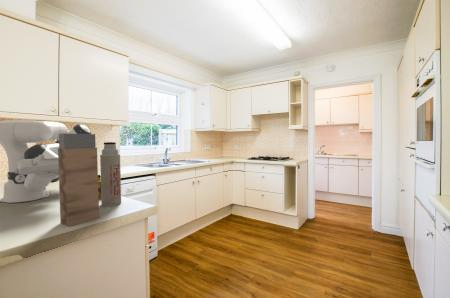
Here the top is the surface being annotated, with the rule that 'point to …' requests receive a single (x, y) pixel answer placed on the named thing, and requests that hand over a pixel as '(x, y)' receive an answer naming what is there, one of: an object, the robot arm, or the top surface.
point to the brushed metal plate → (76, 141)
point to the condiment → (99, 187)
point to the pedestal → (78, 185)
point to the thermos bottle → (110, 175)
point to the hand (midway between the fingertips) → (56, 155)
